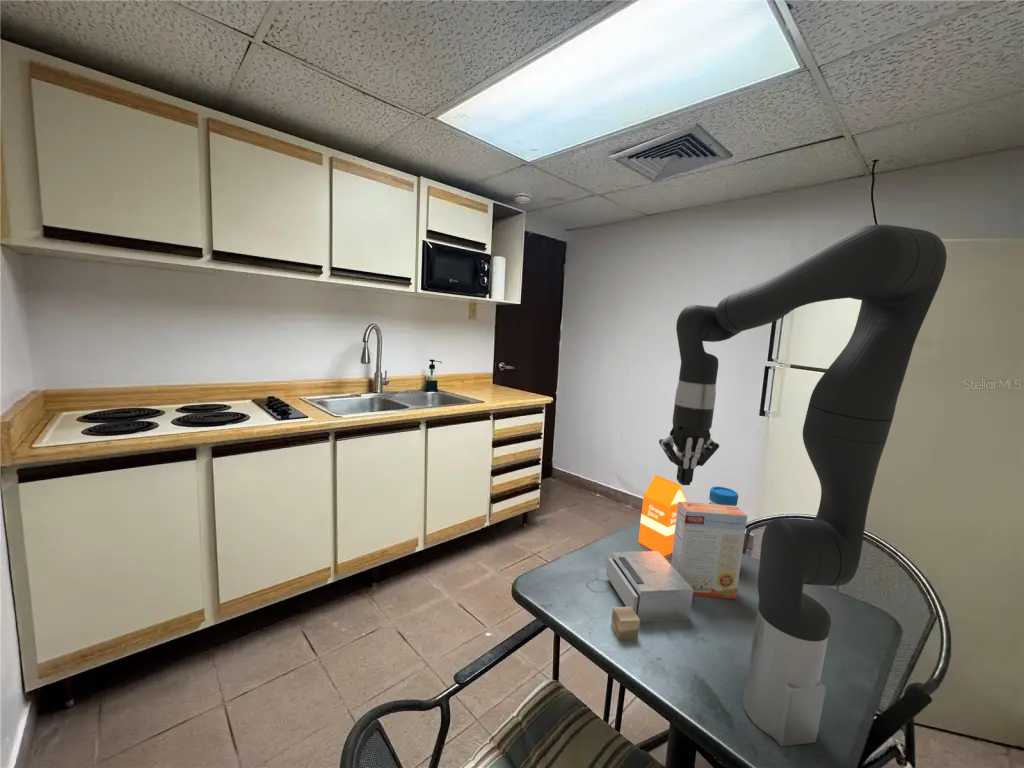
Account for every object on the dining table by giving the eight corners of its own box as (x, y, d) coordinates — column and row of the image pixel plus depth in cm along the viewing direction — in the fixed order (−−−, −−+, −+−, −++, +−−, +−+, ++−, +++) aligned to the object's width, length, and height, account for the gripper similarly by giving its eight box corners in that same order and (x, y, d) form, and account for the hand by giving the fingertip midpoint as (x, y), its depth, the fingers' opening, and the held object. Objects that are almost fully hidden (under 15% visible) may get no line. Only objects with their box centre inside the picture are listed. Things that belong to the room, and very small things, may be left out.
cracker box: (724, 584, 102) (736, 504, 99) (736, 600, 96) (749, 515, 93) (667, 579, 102) (677, 499, 100) (675, 595, 96) (686, 510, 94)
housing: (689, 619, 88) (693, 588, 87) (637, 621, 86) (640, 590, 85) (654, 577, 103) (658, 550, 102) (609, 578, 101) (612, 551, 100)
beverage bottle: (729, 556, 115) (739, 488, 113) (734, 572, 107) (745, 499, 105) (696, 549, 118) (705, 482, 115) (698, 564, 110) (708, 493, 107)
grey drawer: (683, 613, 88) (685, 594, 88) (632, 616, 86) (634, 596, 86) (650, 573, 102) (652, 556, 102) (606, 574, 101) (607, 557, 100)
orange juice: (663, 556, 113) (672, 487, 110) (637, 541, 120) (645, 476, 117) (680, 549, 117) (689, 482, 114) (655, 535, 124) (662, 472, 122)
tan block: (637, 638, 82) (639, 620, 81) (618, 639, 81) (620, 621, 80) (629, 624, 86) (631, 606, 85) (610, 625, 85) (612, 607, 84)
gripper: (674, 406, 80) (664, 491, 83) (735, 408, 82) (723, 491, 85) (655, 399, 88) (646, 477, 90) (711, 401, 90) (701, 477, 92)
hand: (683, 483), depth 87 cm, fingers closed
